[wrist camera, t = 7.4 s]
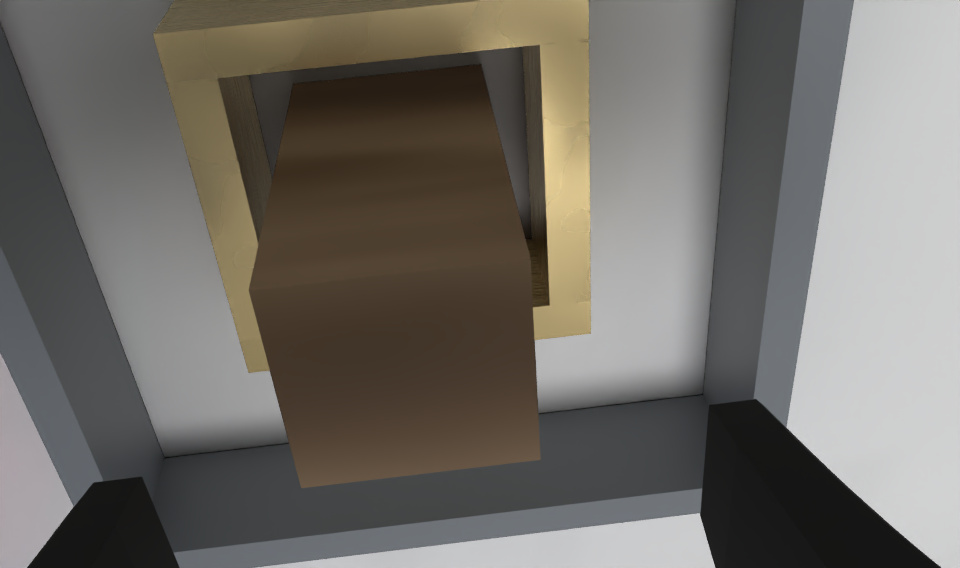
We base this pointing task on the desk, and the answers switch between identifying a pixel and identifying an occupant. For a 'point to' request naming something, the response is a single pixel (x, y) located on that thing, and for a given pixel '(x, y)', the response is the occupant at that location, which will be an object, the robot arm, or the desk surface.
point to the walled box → (563, 435)
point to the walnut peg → (396, 281)
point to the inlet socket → (370, 38)
